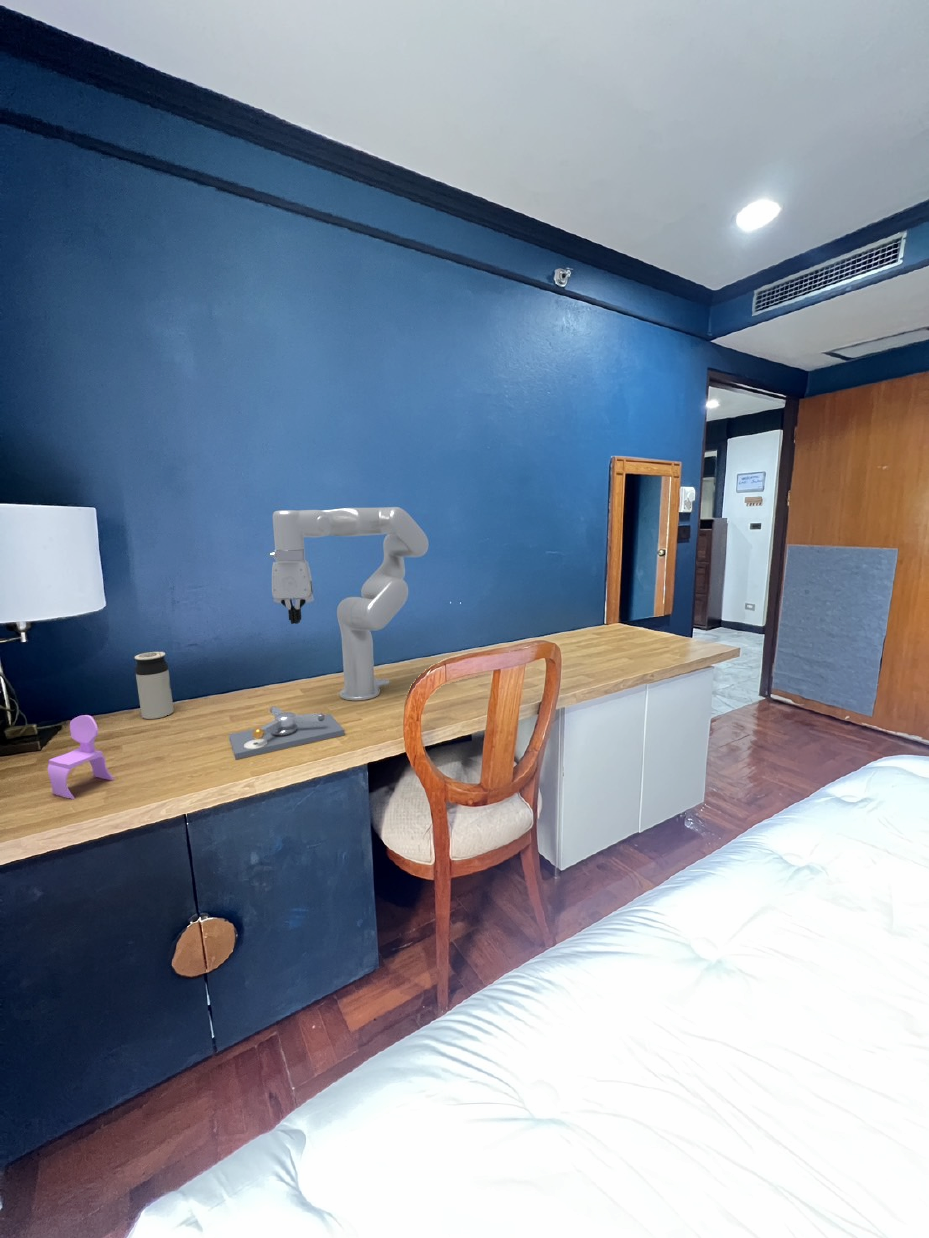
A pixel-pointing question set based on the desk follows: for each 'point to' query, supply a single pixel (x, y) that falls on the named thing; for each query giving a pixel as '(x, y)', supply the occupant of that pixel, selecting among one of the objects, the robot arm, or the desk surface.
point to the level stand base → (284, 738)
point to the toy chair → (78, 756)
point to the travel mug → (153, 685)
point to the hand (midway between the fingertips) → (295, 622)
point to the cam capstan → (285, 723)
